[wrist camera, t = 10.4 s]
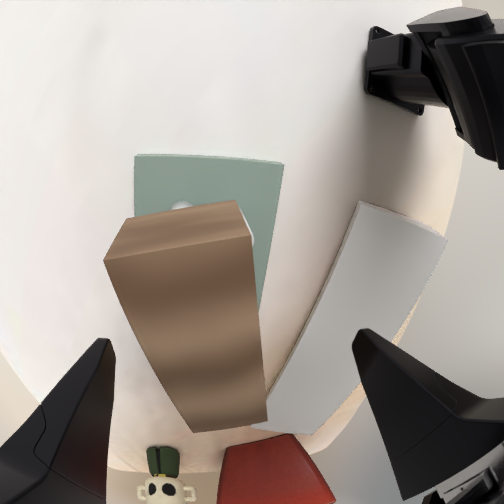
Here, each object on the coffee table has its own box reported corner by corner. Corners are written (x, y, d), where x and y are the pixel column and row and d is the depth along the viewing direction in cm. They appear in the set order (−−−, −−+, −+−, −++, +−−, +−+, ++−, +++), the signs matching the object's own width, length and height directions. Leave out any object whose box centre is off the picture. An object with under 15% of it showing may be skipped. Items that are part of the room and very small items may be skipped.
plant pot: (229, 467, 48) (242, 526, 34) (201, 444, 39) (214, 526, 24) (309, 447, 50) (330, 506, 35) (306, 420, 40) (337, 500, 25)
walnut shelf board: (256, 378, 22) (267, 421, 18) (189, 389, 21) (193, 432, 18) (235, 199, 14) (251, 235, 10) (126, 218, 14) (103, 260, 10)
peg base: (280, 162, 19) (305, 178, 14) (246, 356, 28) (256, 394, 24) (137, 154, 17) (118, 167, 12) (152, 357, 26) (150, 397, 21)
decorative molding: (252, 403, 39) (310, 411, 39) (249, 427, 34) (311, 435, 35) (346, 190, 24) (425, 223, 25) (361, 204, 20) (448, 240, 20)
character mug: (186, 442, 37) (193, 507, 26) (195, 453, 41) (203, 511, 30) (129, 443, 36) (129, 504, 25) (143, 455, 39) (145, 510, 28)
